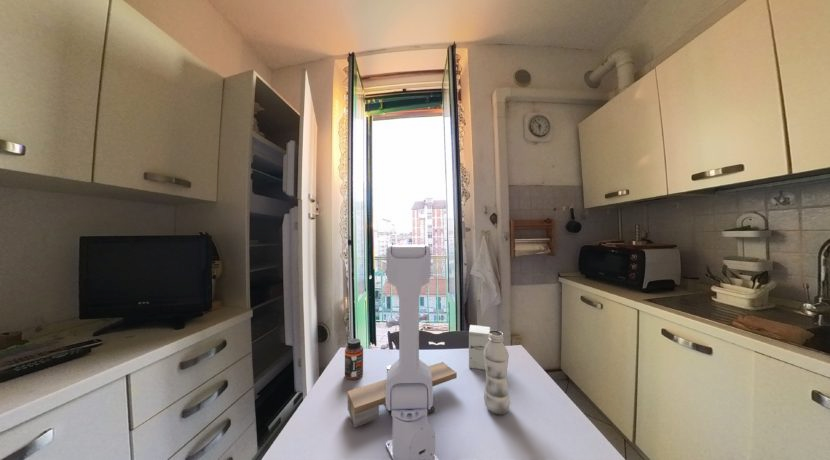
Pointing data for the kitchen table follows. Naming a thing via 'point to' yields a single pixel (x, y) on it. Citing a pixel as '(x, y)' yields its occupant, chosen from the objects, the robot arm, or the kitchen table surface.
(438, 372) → the balance beam
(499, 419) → the kitchen table surface
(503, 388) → the plastic bottle
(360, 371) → the supplement bottle
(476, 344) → the supplement box
